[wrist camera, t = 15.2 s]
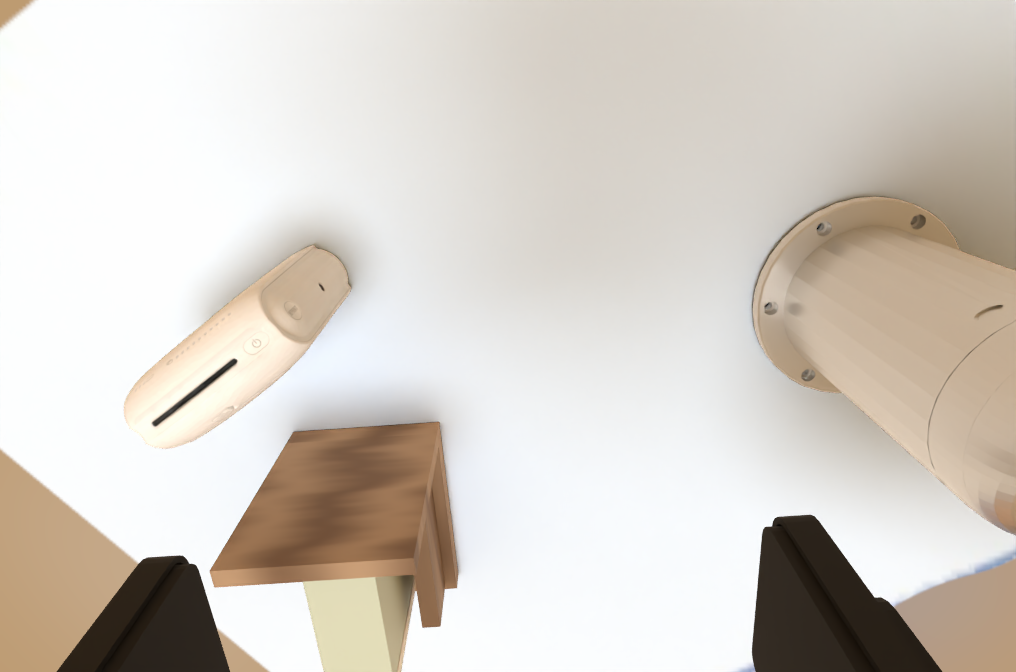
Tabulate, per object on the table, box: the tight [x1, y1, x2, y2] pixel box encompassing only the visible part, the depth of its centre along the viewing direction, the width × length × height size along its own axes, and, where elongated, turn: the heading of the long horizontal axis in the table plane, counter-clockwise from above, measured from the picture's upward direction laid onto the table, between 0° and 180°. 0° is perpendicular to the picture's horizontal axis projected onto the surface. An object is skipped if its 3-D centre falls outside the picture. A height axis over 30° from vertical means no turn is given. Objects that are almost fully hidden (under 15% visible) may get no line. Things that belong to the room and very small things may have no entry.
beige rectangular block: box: [303, 575, 416, 672], centre depth 41 cm, size 4×10×9 cm, turn 4°
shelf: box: [210, 422, 458, 628], centre depth 40 cm, size 10×13×14 cm
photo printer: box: [124, 245, 351, 449], centre depth 35 cm, size 10×4×12 cm, turn 127°
